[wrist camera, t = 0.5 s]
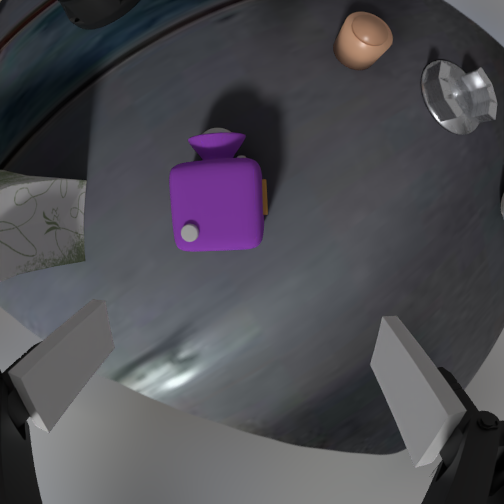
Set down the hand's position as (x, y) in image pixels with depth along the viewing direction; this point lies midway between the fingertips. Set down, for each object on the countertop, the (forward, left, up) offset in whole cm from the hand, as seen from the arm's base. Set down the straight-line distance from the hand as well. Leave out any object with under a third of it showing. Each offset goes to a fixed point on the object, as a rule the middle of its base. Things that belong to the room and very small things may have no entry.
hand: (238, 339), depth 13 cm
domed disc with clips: (-15, +33, -26) cm, 45 cm away
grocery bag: (-12, -40, -27) cm, 50 cm away
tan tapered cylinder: (-22, +18, -26) cm, 39 cm away
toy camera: (-6, -3, -26) cm, 27 cm away
